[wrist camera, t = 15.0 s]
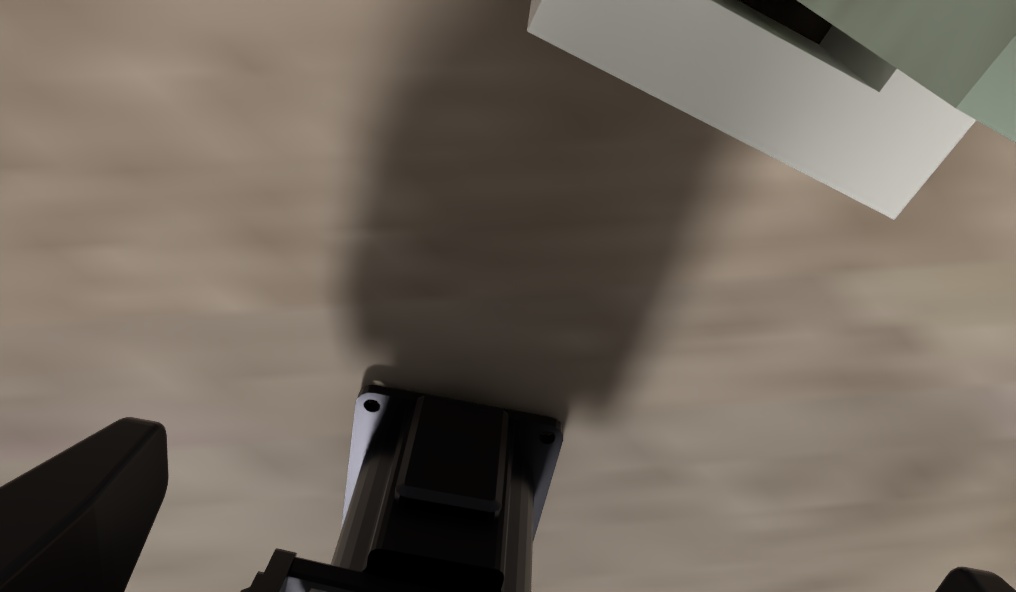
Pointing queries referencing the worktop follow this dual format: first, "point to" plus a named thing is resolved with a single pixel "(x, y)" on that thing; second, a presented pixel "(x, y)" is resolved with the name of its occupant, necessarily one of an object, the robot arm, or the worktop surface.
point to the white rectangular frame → (769, 88)
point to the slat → (942, 48)
